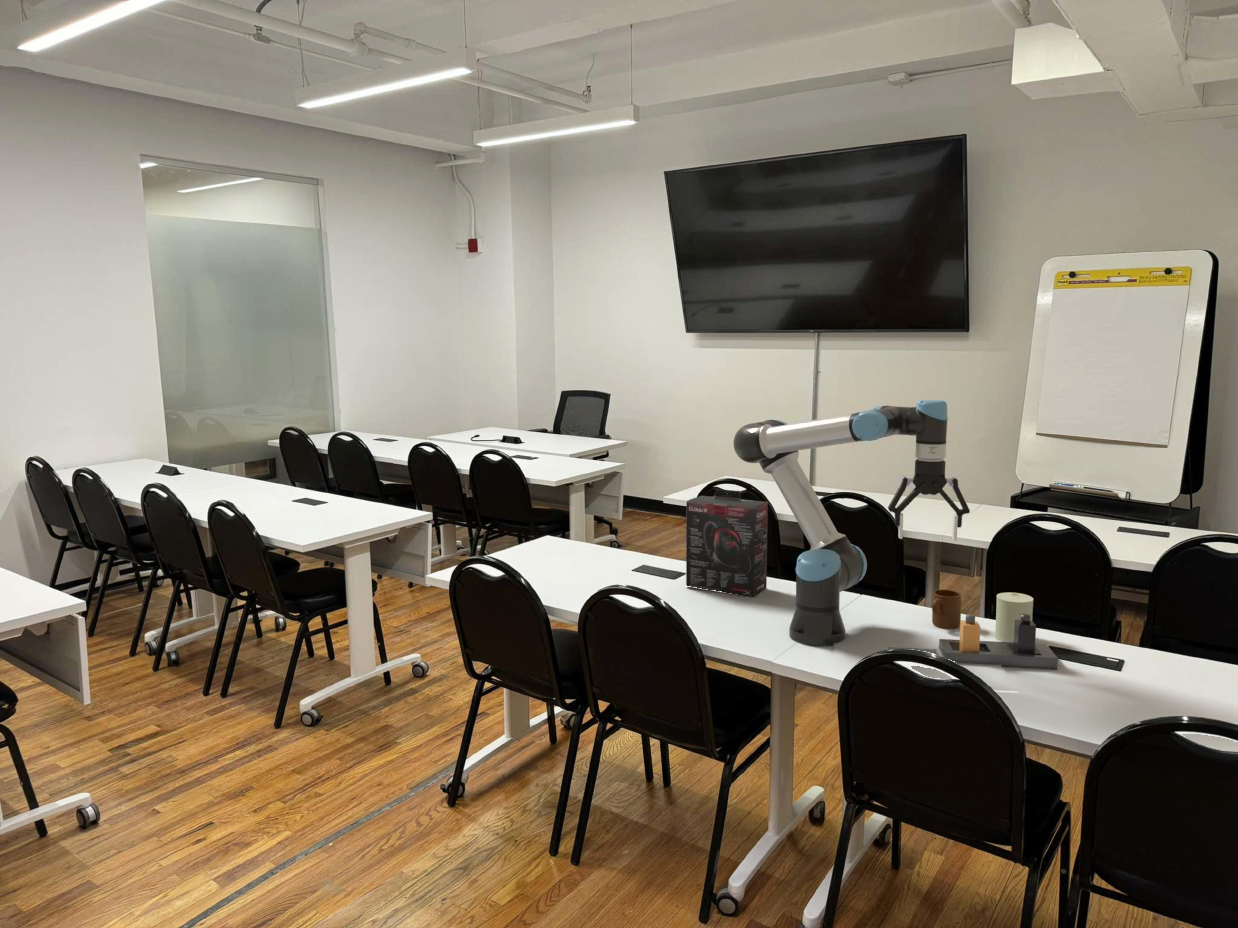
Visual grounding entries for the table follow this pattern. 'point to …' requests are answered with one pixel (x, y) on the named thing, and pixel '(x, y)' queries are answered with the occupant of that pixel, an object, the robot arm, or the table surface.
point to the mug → (946, 609)
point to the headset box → (726, 543)
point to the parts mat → (916, 649)
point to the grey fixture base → (1006, 650)
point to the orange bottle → (969, 634)
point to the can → (1010, 613)
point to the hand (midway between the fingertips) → (927, 538)
